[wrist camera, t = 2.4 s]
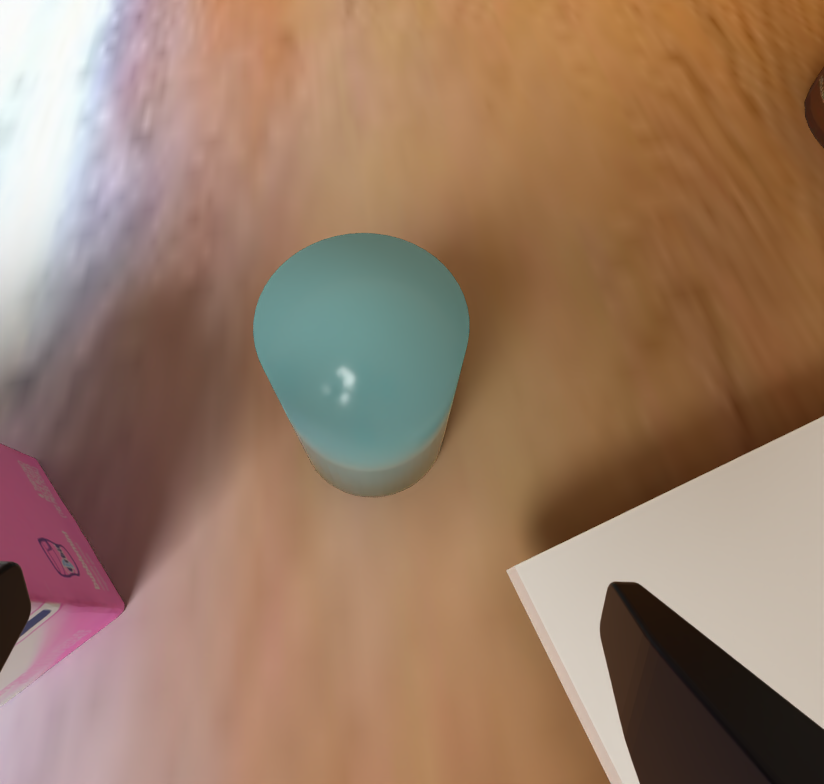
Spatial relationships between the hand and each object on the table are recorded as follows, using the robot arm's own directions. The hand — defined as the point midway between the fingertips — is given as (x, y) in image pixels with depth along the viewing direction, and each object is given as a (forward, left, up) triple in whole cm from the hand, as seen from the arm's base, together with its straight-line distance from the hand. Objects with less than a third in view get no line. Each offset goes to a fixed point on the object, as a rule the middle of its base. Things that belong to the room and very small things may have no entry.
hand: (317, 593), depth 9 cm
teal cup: (+3, +7, -13) cm, 15 cm away
